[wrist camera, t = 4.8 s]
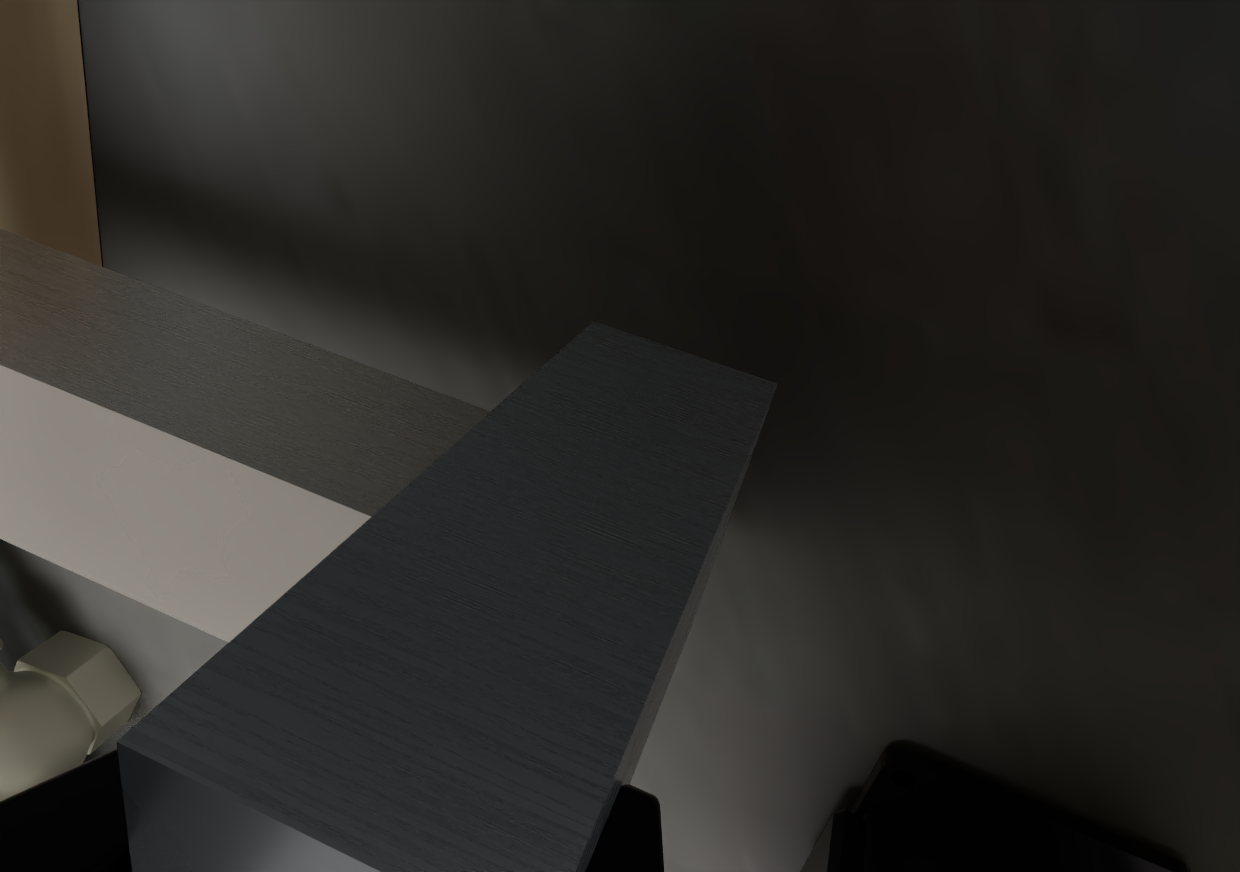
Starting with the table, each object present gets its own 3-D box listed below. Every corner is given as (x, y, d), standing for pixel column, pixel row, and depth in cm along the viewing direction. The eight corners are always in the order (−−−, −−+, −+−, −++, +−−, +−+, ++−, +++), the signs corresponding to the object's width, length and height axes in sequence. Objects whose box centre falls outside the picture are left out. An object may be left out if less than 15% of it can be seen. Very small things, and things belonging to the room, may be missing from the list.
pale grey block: (777, 384, 12) (542, 951, 5) (691, 627, 15) (443, 1258, 7) (-101, 82, 15) (-1116, 135, 8) (-52, 326, 18) (-786, 550, 10)
